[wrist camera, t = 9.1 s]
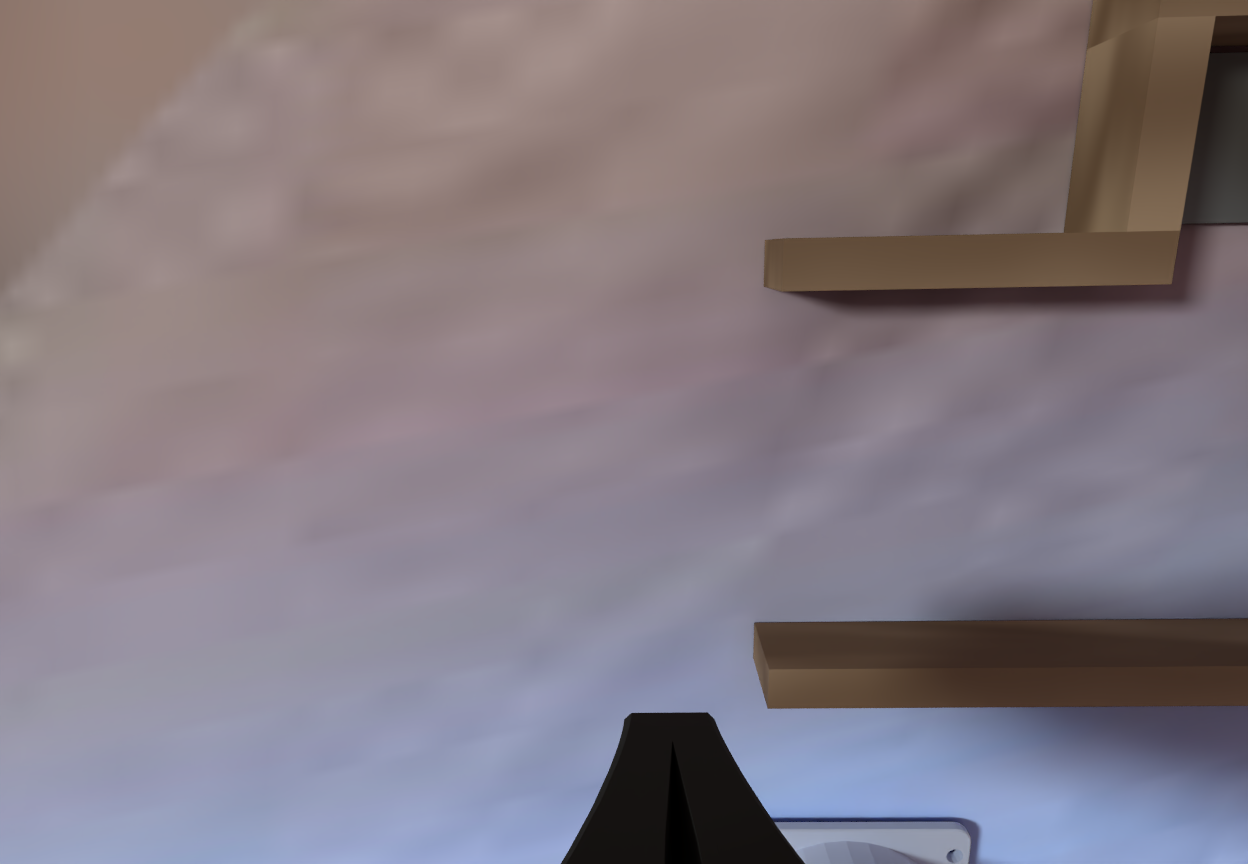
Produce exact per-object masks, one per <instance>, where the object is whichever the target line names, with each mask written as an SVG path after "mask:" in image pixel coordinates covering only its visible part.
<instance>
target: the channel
mask: <svg viewBox="0 0 1248 864" xmlns="http://www.w3.org/2000/svg"><path fill="white" fill-rule="evenodd" d="M1247 45H1248V0H1093V6H1092V14H1091V22H1090V29H1089V37H1088V45H1087V53H1086V61H1085V69H1084V77H1083V85H1082V93H1081V101H1080V109H1079V116H1078V124H1077V132H1076V140H1075V148H1074V156H1073V164H1072V172H1071V180H1070V188H1069V196H1068V203H1067V211H1066V219H1065V227H1064V233H1034V234H985V235H935V236H886V237H836V238H786V239H773V240H765V261H764V287H768V288H771V289H775V290H779V291H833V290H887V289H941V288H995V287H1049V286H1103V285H1157V284H1172V278H1173V272H1174V266H1175V260H1176V254H1177V248H1178V242H1179V235H1180V229H1181V224H1199V223H1248V52H1242V53H1210V47H1211V46H1247ZM753 659H754V662H755V666H756V669H757V673H758V676H759V680H760V683H761V687H762V690H763V694H764V697H765V701H766V704H767V707H768V709H772V708H942V707H1112V706H1248V619H1136V620H1018V621H900V622H783V623H754V653H753Z"/></svg>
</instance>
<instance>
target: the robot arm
mask: <svg viewBox="0 0 1248 864" xmlns="http://www.w3.org/2000/svg"><path fill="white" fill-rule="evenodd" d="M955 849H956V850H955ZM970 849H971V837H970V835H969V833H968V831H967V830H966V828H965V827H964V825H962V824H960V823H958V822H774V821H773V820H772V818H771V817H770V816H769V814H768V813H767V811H766V810H765V808H764V807H763V805H762V804H761V802H760V801H759V799H758V797H757V796H756V794H755V793H754V791H753V790H752V788H751V787H750V785H749V784H748V782H747V780H746V779H745V777H744V776H743V774H742V772H741V771H740V769H739V767H738V765H737V764H736V762H735V760H734V758H733V757H732V755H731V753H730V751H729V749H728V747H727V746H726V744H725V742H724V740H723V738H722V736H721V734H720V731H719V729H718V727H717V725H716V722H715V720H714V718H713V717H712V716H711V715H710V714H708V713H631V714H630V715H629V716H628V717H627V718H625V719H624V726H623V731H622V735H621V738H620V742H619V745H618V748H617V751H616V754H615V756H614V759H613V761H612V764H611V767H610V769H609V772H608V774H607V776H606V778H605V780H604V783H603V785H602V787H601V789H600V791H599V794H598V796H597V798H596V800H595V803H594V805H593V807H592V809H591V811H590V813H589V814H588V816H587V818H586V820H585V822H584V824H583V825H582V827H581V829H580V831H579V833H578V835H577V836H576V838H575V840H574V842H573V844H572V846H571V848H570V849H569V851H568V853H567V854H566V856H565V858H564V859H563V861H562V863H561V864H969V857H970ZM951 850H955V851H954V852H951V853H948V852H949V851H951Z"/></svg>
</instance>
